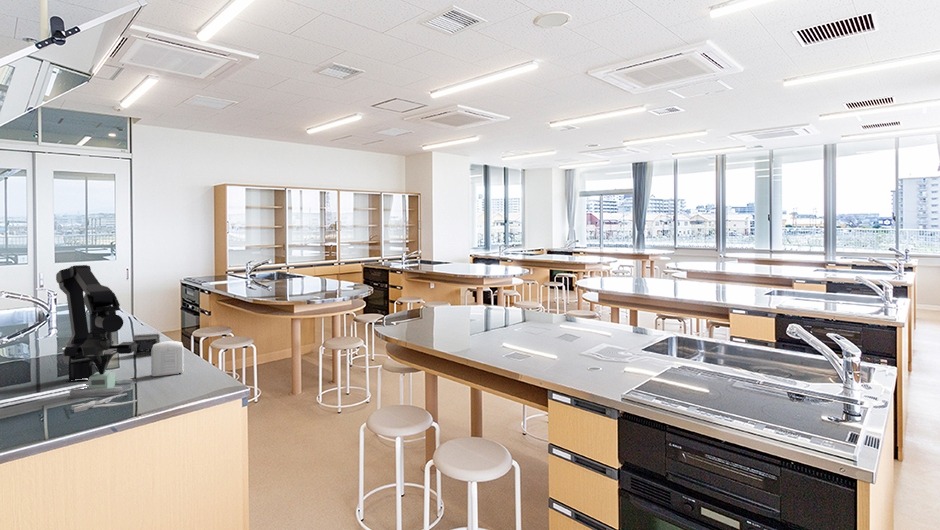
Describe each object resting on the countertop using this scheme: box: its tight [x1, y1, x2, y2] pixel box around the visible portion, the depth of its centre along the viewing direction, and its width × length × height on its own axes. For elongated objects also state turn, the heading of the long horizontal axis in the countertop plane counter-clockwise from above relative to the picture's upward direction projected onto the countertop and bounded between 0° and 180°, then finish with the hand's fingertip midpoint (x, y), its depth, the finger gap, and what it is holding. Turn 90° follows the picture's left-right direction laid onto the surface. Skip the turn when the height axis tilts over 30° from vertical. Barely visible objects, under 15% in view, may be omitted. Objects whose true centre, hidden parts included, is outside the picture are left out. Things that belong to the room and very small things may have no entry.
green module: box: [88, 370, 116, 389], centre depth 159 cm, size 5×6×5 cm
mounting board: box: [67, 378, 135, 399], centre depth 159 cm, size 14×13×2 cm
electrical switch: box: [133, 332, 161, 357], centre depth 202 cm, size 9×5×9 cm, turn 117°
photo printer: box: [150, 340, 185, 377], centre depth 177 cm, size 10×4×12 cm, turn 123°
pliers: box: [71, 392, 138, 413], centre depth 147 cm, size 10×2×15 cm
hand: (102, 374), depth 159 cm, fingers closed, pressing on green module
